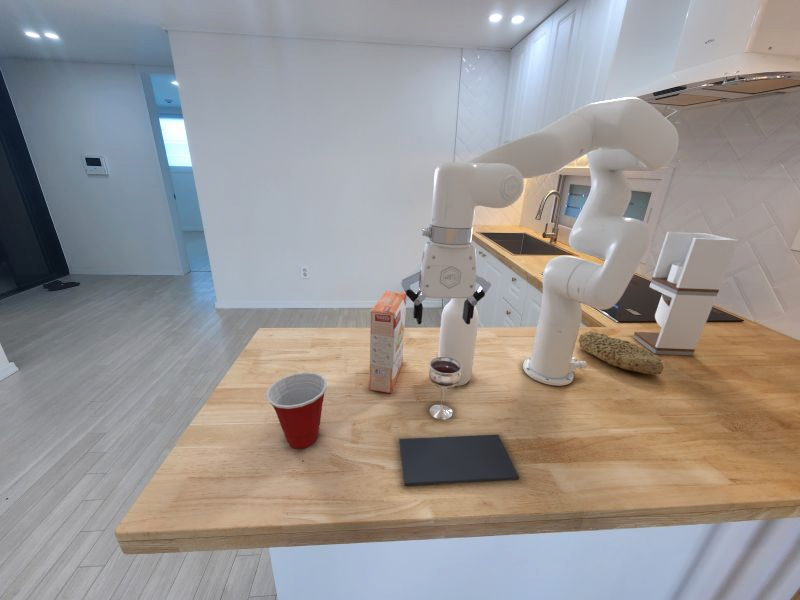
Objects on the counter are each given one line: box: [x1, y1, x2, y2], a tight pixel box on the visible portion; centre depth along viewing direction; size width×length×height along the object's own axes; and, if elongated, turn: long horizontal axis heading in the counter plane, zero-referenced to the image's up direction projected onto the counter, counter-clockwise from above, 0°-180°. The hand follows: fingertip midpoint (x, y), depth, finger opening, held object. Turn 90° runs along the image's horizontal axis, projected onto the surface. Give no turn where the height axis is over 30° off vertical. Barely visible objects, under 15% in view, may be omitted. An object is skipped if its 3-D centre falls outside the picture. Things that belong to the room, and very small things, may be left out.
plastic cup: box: [265, 371, 328, 450], centre depth 63 cm, size 11×11×12 cm
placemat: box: [398, 434, 520, 487], centre depth 62 cm, size 20×10×1 cm, turn 95°
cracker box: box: [368, 290, 408, 394], centre depth 82 cm, size 14×6×21 cm, turn 168°
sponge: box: [578, 330, 665, 376], centre depth 95 cm, size 13×8×20 cm
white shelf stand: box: [632, 231, 740, 356], centre depth 100 cm, size 11×11×35 cm
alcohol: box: [437, 298, 480, 387], centre depth 81 cm, size 9×9×30 cm
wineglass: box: [428, 356, 462, 420], centre depth 72 cm, size 7×7×12 cm
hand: (442, 321), depth 67 cm, fingers open, 9 cm apart
